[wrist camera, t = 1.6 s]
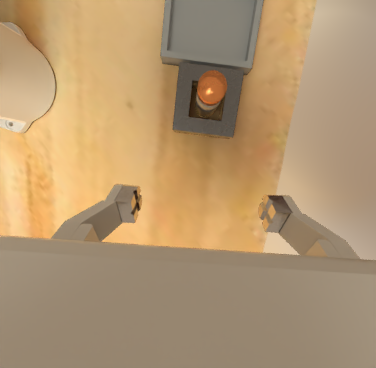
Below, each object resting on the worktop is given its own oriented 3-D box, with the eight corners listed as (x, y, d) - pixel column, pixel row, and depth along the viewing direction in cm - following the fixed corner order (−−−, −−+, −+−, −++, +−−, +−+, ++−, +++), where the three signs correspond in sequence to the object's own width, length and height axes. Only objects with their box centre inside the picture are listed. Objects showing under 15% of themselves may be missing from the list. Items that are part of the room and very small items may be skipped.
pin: (193, 116, 33) (196, 100, 23) (196, 94, 32) (199, 68, 23) (213, 118, 33) (224, 103, 23) (217, 96, 32) (229, 72, 23)
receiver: (174, 132, 34) (172, 129, 30) (180, 71, 32) (179, 62, 28) (228, 138, 34) (233, 137, 30) (238, 79, 32) (244, 70, 28)
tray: (162, 63, 32) (160, 56, 29) (169, -19, 29) (168, -35, 27) (246, 74, 32) (251, 68, 29) (260, -6, 29) (267, -21, 27)
